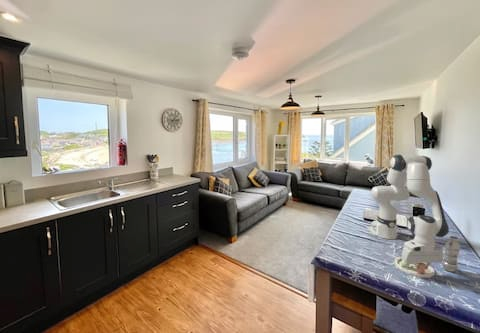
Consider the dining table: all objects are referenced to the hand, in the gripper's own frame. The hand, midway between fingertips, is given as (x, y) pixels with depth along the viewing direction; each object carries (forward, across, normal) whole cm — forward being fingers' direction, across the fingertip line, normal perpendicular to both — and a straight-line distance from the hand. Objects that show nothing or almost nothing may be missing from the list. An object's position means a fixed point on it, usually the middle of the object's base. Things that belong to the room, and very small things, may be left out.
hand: (420, 268), depth 124 cm
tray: (+4, 0, -5) cm, 6 cm away
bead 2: (+2, 0, 0) cm, 2 cm away
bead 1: (+2, +5, -5) cm, 7 cm away
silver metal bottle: (+4, -20, -4) cm, 21 cm away
